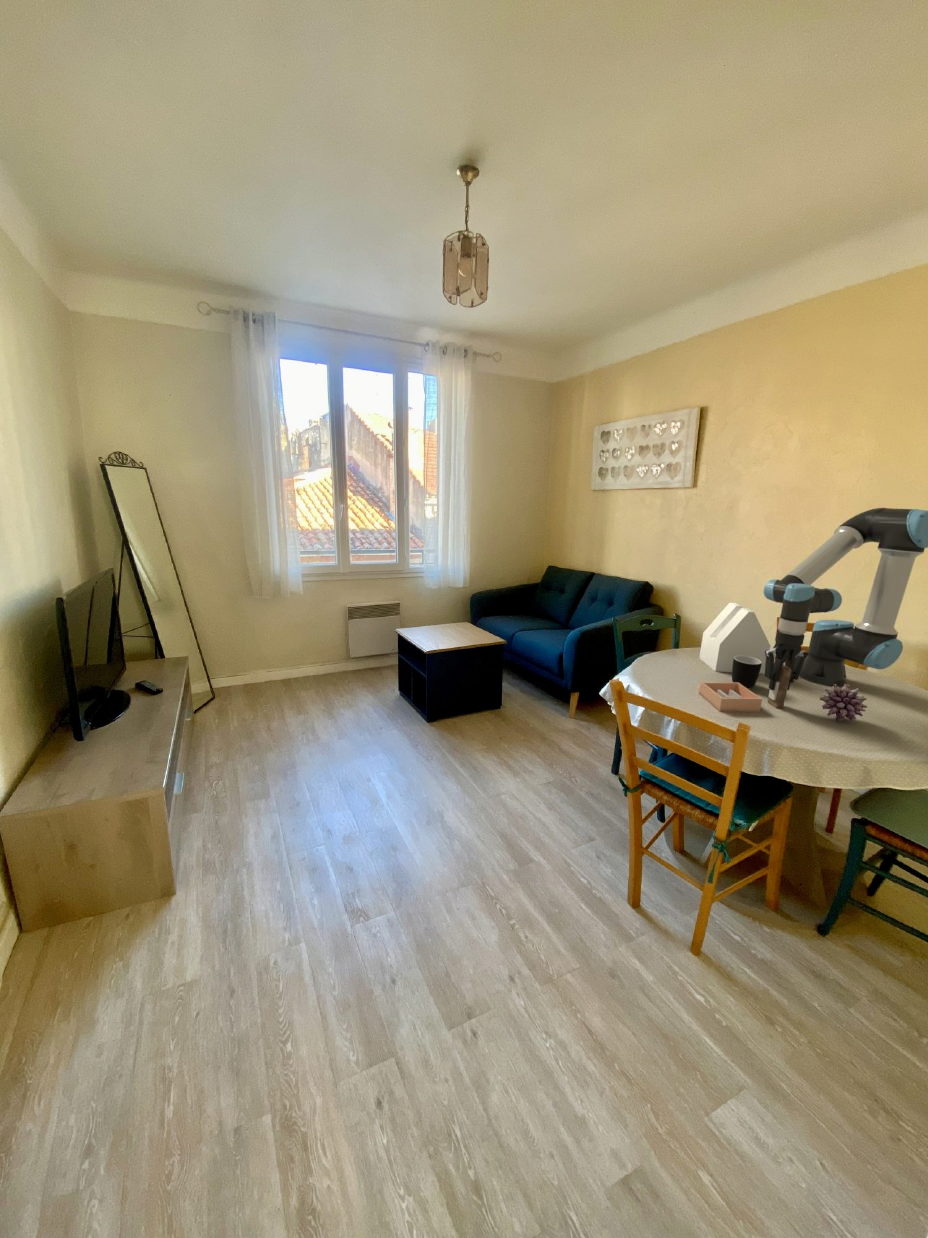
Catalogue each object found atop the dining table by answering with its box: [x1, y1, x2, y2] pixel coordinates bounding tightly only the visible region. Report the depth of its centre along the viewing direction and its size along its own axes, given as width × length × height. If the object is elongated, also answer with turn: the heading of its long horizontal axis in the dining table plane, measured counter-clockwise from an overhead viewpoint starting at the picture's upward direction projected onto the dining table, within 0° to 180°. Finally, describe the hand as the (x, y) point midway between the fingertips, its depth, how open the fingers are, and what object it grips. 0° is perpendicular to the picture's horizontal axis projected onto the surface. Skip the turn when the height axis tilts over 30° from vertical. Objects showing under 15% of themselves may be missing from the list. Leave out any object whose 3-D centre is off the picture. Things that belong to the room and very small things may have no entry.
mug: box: [731, 656, 762, 690], centre depth 176 cm, size 12×9×10 cm
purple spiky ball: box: [819, 683, 868, 722], centre depth 149 cm, size 12×12×12 cm
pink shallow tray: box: [698, 681, 763, 713], centre depth 161 cm, size 13×13×4 cm
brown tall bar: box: [767, 664, 792, 709], centre depth 158 cm, size 2×4×14 cm, turn 2°
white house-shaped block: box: [698, 601, 771, 674], centre depth 193 cm, size 19×15×25 cm
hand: (776, 698), depth 160 cm, fingers closed on brown tall bar, 2 cm apart
